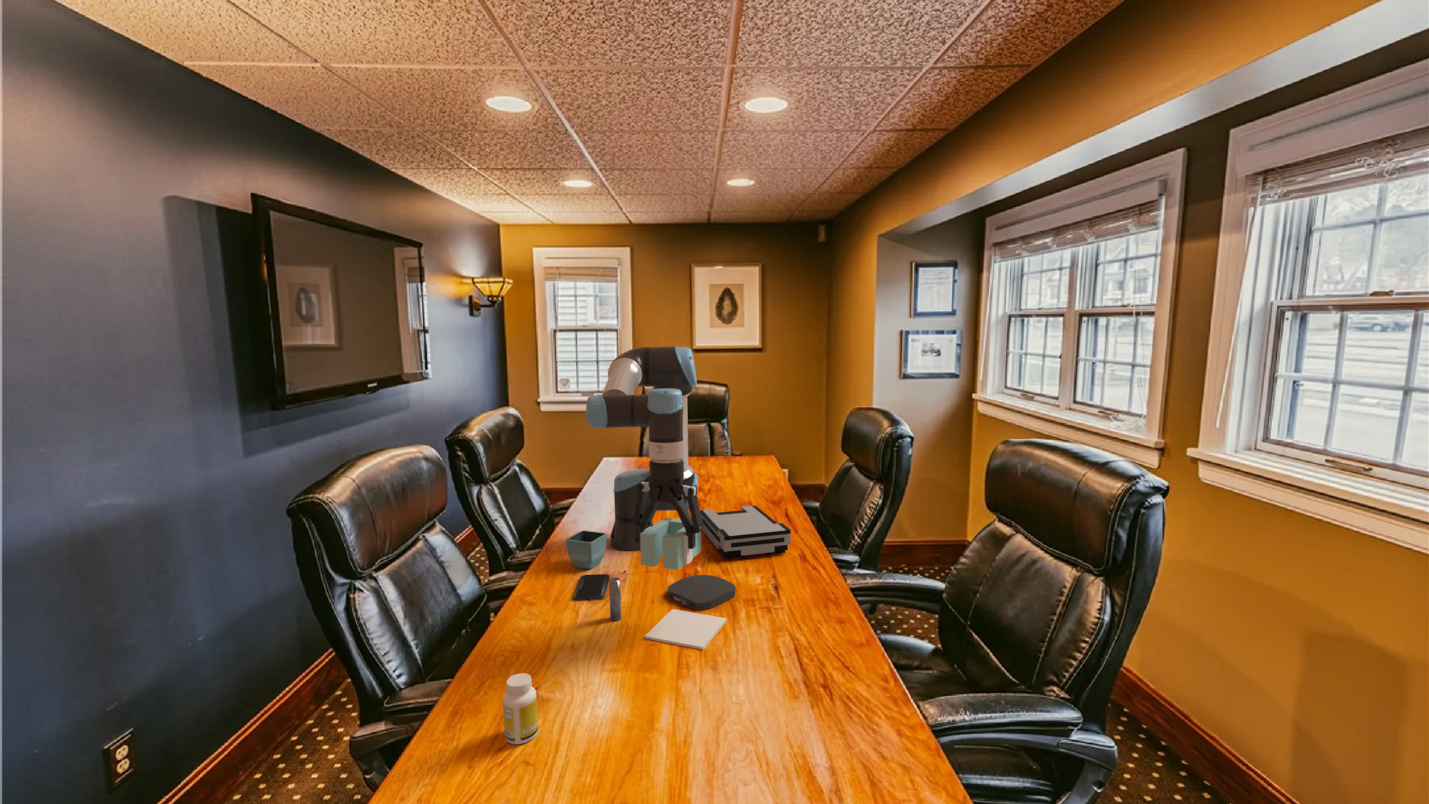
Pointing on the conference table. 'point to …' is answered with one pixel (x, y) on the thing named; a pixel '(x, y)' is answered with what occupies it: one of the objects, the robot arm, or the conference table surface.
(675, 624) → the mat
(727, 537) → the game console
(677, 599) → the media streaming box
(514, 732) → the supplement bottle
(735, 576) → the conference table surface
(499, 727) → the conference table surface
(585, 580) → the phone
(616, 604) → the grey cylinder
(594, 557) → the flower pot
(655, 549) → the green u-shaped block
